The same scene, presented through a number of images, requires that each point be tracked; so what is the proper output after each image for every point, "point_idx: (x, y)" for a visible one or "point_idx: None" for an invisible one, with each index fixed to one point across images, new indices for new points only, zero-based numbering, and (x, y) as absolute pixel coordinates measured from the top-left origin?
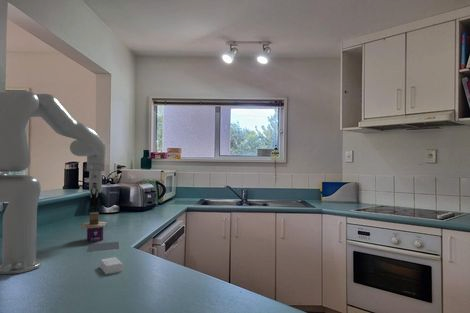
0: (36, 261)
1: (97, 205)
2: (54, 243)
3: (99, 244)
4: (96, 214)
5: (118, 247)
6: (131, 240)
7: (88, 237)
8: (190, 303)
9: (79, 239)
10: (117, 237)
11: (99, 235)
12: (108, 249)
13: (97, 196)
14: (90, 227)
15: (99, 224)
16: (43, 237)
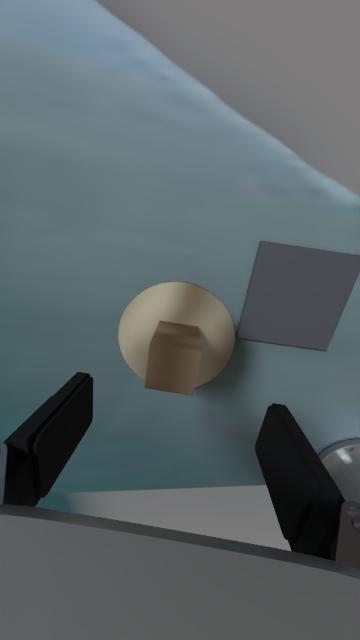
0: (356, 450)
1: (287, 408)
2: (163, 412)
3: (263, 309)
4: (200, 358)
5: (349, 255)
6: (256, 181)
7: None
8: None
9: None
10: (172, 230)
11: None
12: (350, 291)
13: (42, 444)
14: (228, 357)
15: (203, 321)
16: None
